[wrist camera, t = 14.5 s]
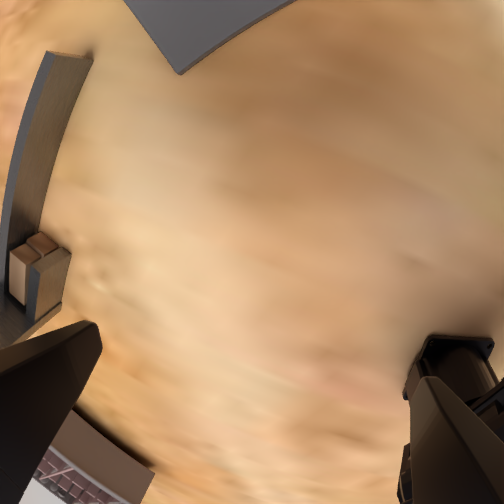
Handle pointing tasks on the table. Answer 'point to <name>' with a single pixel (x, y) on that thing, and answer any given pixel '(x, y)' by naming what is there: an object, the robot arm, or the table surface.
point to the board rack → (37, 194)
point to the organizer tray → (90, 468)
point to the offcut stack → (27, 263)
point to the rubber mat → (198, 24)
